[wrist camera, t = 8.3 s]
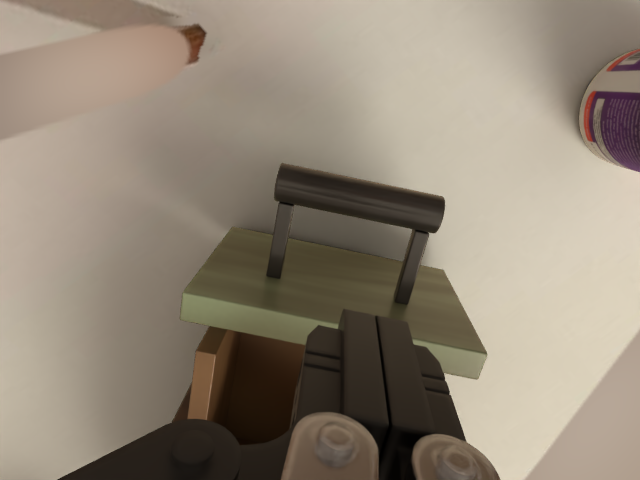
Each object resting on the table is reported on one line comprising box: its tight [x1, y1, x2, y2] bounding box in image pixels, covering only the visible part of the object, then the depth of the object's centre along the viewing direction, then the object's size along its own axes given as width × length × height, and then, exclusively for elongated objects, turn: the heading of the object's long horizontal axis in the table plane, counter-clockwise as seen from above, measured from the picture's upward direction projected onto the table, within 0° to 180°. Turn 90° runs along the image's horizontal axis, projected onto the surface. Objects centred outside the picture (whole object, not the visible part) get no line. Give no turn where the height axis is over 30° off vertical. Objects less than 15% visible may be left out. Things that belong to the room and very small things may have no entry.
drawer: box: [180, 163, 487, 445], centre depth 21 cm, size 18×11×8 cm, turn 169°
